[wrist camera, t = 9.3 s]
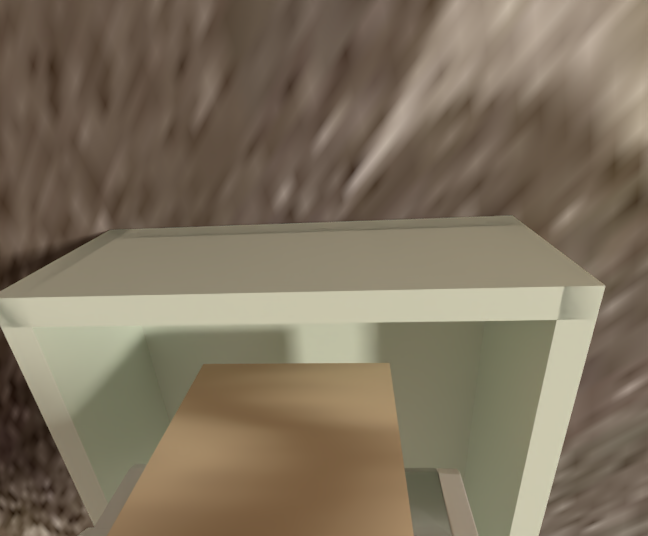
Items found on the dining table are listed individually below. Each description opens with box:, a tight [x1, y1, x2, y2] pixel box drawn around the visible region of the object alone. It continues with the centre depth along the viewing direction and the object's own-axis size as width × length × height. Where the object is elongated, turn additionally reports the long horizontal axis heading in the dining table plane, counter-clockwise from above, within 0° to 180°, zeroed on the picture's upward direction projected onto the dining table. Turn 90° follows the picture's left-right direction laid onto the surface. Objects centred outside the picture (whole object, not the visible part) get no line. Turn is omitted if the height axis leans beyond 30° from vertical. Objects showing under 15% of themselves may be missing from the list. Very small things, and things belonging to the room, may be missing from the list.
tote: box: [0, 215, 605, 536], centre depth 14 cm, size 18×14×5 cm
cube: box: [107, 363, 414, 536], centre depth 9 cm, size 5×5×5 cm
